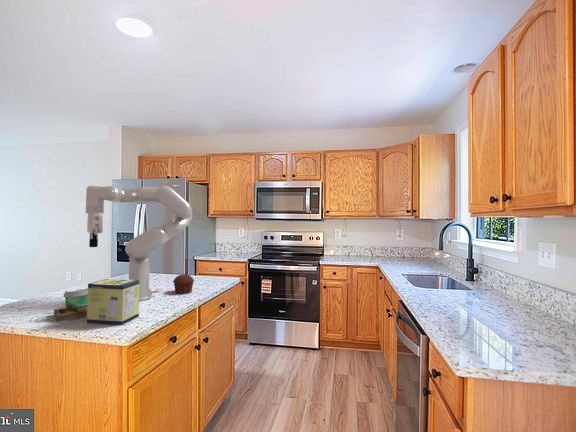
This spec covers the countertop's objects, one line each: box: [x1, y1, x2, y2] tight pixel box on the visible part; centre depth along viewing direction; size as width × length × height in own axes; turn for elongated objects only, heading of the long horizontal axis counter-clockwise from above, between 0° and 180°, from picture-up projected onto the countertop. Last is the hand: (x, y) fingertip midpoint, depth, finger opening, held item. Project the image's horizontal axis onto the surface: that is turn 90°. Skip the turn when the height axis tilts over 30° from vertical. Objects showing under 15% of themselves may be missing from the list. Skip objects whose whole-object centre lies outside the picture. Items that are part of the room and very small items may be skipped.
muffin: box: [172, 273, 195, 295], centre depth 162 cm, size 12×11×10 cm
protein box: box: [86, 278, 140, 326], centre depth 116 cm, size 10×16×16 cm
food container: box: [63, 287, 88, 313], centre depth 121 cm, size 12×6×10 cm, turn 165°
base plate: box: [53, 307, 87, 323], centre depth 121 cm, size 17×11×2 cm, turn 133°
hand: (93, 246), depth 142 cm, fingers closed
